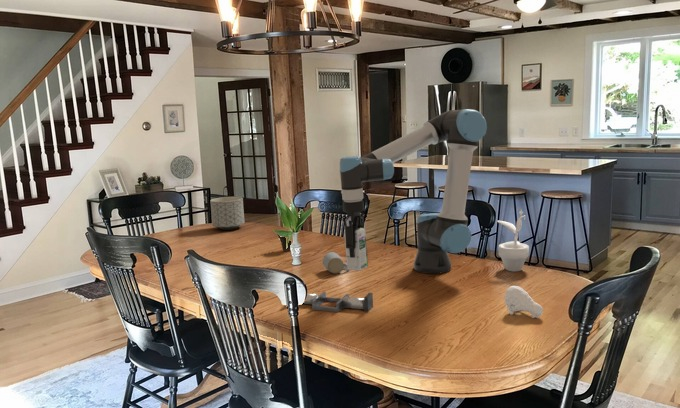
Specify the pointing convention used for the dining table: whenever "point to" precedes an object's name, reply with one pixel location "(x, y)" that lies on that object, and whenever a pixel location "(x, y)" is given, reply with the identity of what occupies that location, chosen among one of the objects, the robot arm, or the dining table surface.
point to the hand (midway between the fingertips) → (357, 262)
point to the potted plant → (513, 248)
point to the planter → (227, 212)
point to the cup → (283, 242)
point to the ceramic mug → (334, 263)
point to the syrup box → (358, 250)
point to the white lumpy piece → (521, 302)
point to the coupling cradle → (340, 302)
